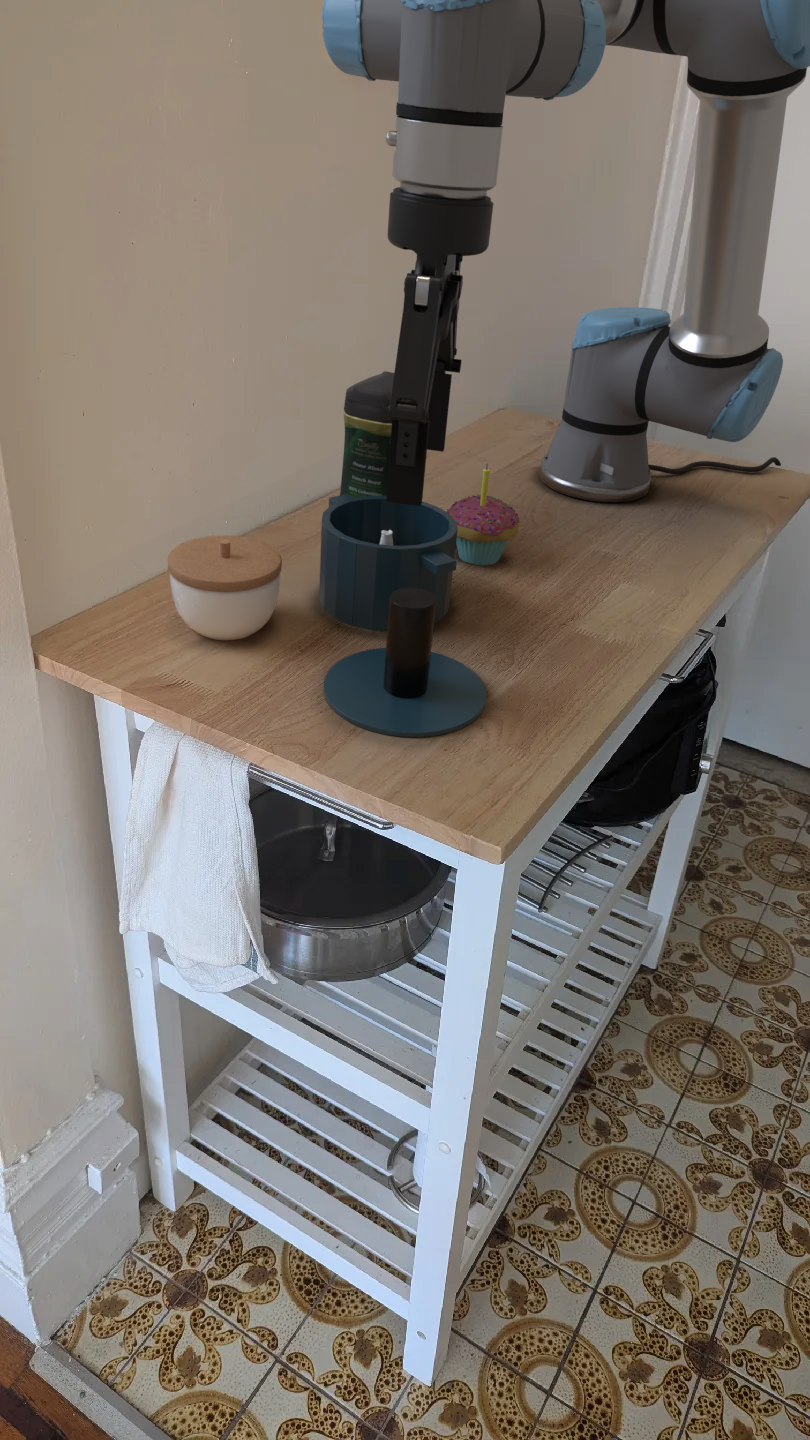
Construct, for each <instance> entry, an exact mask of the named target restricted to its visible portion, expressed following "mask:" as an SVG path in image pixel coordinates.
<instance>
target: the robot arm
mask: <svg viewBox="0 0 810 1440" xmlns="http://www.w3.org/2000/svg"><path fill="white" fill-rule="evenodd" d="M321 20H322V25H321V26H322V30H323V31H322V39H323V43H324V47H325V50H326V52H327V55H328V57H329V58H330V60H331V62H332V63H333V65H334V66H336V68H337V69H339V71H341V72H342V73H344V74H347V75H351V76H355V77H361V78H365V79H366V80H368V81H369V82H375V81H376V80H379V81H388V82H389V81H390V82H398V90H397V91H398V92H397V93H398V94H397V102H396V105H395V106H396V107H395V115H396V120H395V129H396V130H389V131H387V134H386V136H385V143H386V144H387V146H389V147H395V151H394V152H393V158H392V175H391V176H392V178H393V179H394V180H395V181H396V182H399V187H395V188H393V189H392V192H390V193H389V203H388V204H389V207H388V221H387V240H388V242H389V243H390V244H391V245H393V246H394V247H395V248H398V249H401V250H405V251H406V250H409V251H412V252H414V253H415V254H416V260H415V263H414V265H415V266H414V269H411V271H410V272H408V273H406V276H405V278H404V282H403V294H404V295H403V296H404V298H403V308H402V314H401V315H402V316H401V322H400V328H399V329H400V330H399V337H398V345H397V352H396V358H395V365H394V372H393V373H394V379H393V386H392V394H391V401H390V405H389V406H388V407H383V411H382V418H383V419H390V420H392V430H391V443H390V456H389V470H388V483H387V497H386V502H392V503H400V504H407V505H414V506H421V504H422V502H423V499H424V498H423V497H424V485H425V475H426V464H427V456H428V455H427V454H428V451H436V452H441V453H442V452H444V451H445V446H446V435H447V427H448V418H449V417H448V416H449V406H450V396H451V387H452V380H453V379H452V378H453V374H452V373H458V374H460V373H461V369H462V361H463V359H460V358H459V359H458V358H456V356H457V353H458V348H457V333H458V317H459V315H458V314H459V309H460V299H461V297H462V296H461V295H462V290H463V285H464V276H463V275H462V274H461V265H462V262H463V260H464V259H463V258H464V257H471V256H477V255H481V254H483V253H485V252H486V251H487V250H488V248H489V246H490V238H491V229H492V221H493V220H492V219H493V212H494V201H492V198H491V197H490V196H488V191H490V190H492V189H494V188H495V187H496V186H497V181H498V175H499V174H498V173H499V165H500V157H501V148H502V139H503V132H504V126H503V121H504V120H503V119H504V109H505V104H506V97H508V96H509V97H517V98H518V97H519V98H534V99H542V100H544V101H547V102H548V101H550V100H554V99H555V98H563V97H564V98H565V97H568V96H571V95H573V94H575V93H577V92H579V91H581V90H582V89H583V88H585V86H586V85H588V83H589V82H590V81H591V80H592V79H593V77H594V76H595V74H596V73H597V71H598V69H599V67H600V65H601V62H602V60H603V57H604V53H605V50H606V46H611V47H621V48H627V49H634V50H639V51H645V52H651V53H657V54H663V55H664V54H665V55H670V56H671V55H672V56H680V57H687V73H686V86H687V88H688V89H689V90H690V91H691V92H692V93H693V94H694V96H695V97H696V98H697V99H698V100H699V112H698V125H697V137H696V138H697V139H696V150H695V151H696V152H695V165H694V166H695V167H694V175H693V176H694V177H693V189H692V190H693V191H692V204H691V214H690V228H689V239H688V253H687V265H686V266H687V267H686V278H685V290H684V292H685V293H684V305H683V314H681V315H680V316H678V318H676V319H675V320H674V321H673V322H672V320H671V315H670V313H669V312H668V311H666V310H662V309H659V308H652V307H640V306H639V307H636V306H635V307H634V306H632V307H631V306H628V307H627V306H626V307H625V306H624V307H623V306H622V307H605V308H599V309H593V310H590V311H587V312H585V313H584V314H583V315H582V316H581V317H580V318H579V319H578V321H577V324H576V328H575V331H574V332H575V333H574V337H573V341H572V344H571V345H570V346H571V347H570V350H571V353H570V360H569V367H568V368H569V369H568V373H567V374H568V375H567V381H566V386H565V393H564V394H565V395H564V401H563V406H562V407H563V408H562V414H561V419H560V423H559V425H558V428H557V430H556V432H555V434H554V436H553V438H552V440H551V442H550V444H549V447H548V450H547V452H545V454H544V456H543V458H542V459H541V462H540V468H539V479H540V481H541V482H542V483H543V484H544V485H546V487H548V488H550V489H551V490H554V492H558V493H559V494H563V495H565V496H569V497H573V498H576V499H580V500H586V501H592V502H600V503H623V502H624V503H625V502H630V501H631V502H632V501H635V500H638V499H641V498H643V497H645V496H646V495H647V494H648V493H649V489H650V485H651V481H652V473H651V471H655V472H660V473H665V474H669V475H679V474H683V473H685V472H687V471H689V470H691V469H695V468H699V467H710V468H711V467H712V468H718V469H725V470H731V471H735V472H744V473H757V472H761V471H764V470H765V469H766V468H768V467H769V466H771V465H772V464H773V463H774V465H775V466H777V467H781V466H782V463H781V461H780V460H779V459H778V458H777V457H775V456H773V457H770V458H769V459H767V460H766V461H765V462H764V463H762V464H760V465H758V466H743V465H736V464H731V463H725V462H720V461H712V460H710V461H709V460H701V461H700V460H699V461H694V462H691V463H688V464H686V465H684V466H682V467H678V468H670V467H665V466H661V465H654V464H649V451H648V449H649V448H648V440H647V439H648V437H647V435H648V434H647V433H648V428H649V422H652V423H654V424H655V423H656V424H660V425H663V426H666V427H671V428H675V429H677V430H681V431H684V432H685V431H686V432H689V433H693V434H697V435H701V436H703V437H706V439H707V440H712V439H715V440H719V441H723V442H728V443H739V442H741V441H742V440H744V439H745V438H747V437H748V436H749V435H750V434H752V432H753V431H754V430H755V428H756V427H757V425H758V424H759V423H760V421H761V419H762V418H763V416H764V414H765V413H766V410H767V409H768V407H769V405H770V403H771V401H772V398H773V396H774V394H775V391H776V389H777V386H778V384H779V381H780V379H781V375H782V370H783V365H784V359H783V355H782V353H781V351H778V350H777V349H776V348H774V347H772V348H768V343H769V336H770V327H769V325H768V323H767V322H766V320H765V319H764V318H763V317H762V316H761V315H760V314H759V313H760V303H761V297H762V289H763V282H764V274H765V267H766V260H767V251H768V245H769V239H770V237H769V236H770V229H771V220H772V215H773V214H772V213H773V207H774V199H775V192H776V185H777V177H778V170H779V164H780V163H779V162H780V153H781V147H782V139H783V133H784V125H785V116H786V109H787V101H788V98H789V96H790V95H792V93H793V92H795V90H796V89H798V88H799V87H800V86H801V85H802V84H803V83H804V82H805V80H806V77H807V71H808V68H809V67H810V0H323V5H322V11H321ZM670 324H671V325H670ZM446 372H447V373H446ZM448 372H449V373H448ZM405 400H414V401H416V402H417V404H415V403H407V402H403V401H405Z"/></svg>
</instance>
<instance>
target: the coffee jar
mask: <svg viewBox="0 0 810 1440" xmlns="http://www.w3.org/2000/svg"><path fill="white" fill-rule="evenodd" d="M393 379H394V372H392V371H383V372H382V373H379V374H376V375H373V376H370V377H368V378H367V377H366V378H365V379H363V380H361V381H359V382H356V383H354V384H353V385H351V386H349V387H347V389H346V391H345V398H344V404H343V424H344V425H343V426H344V443H343V458H342V466H341V467H342V468H341V479H340V480H341V481H340V490H339V496H340V495H345V494H348V495H350V496H351V497H353V498H356V497H362V496H387V483H388V470H389V456H390V443H391V430H392V420H390V419H383V418H382V411H383V407H388V406H389V405H390V401H391V394H392V386H393ZM403 402H407V403H415V404H417V402H416V401H414V400H405V401H403Z"/></svg>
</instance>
